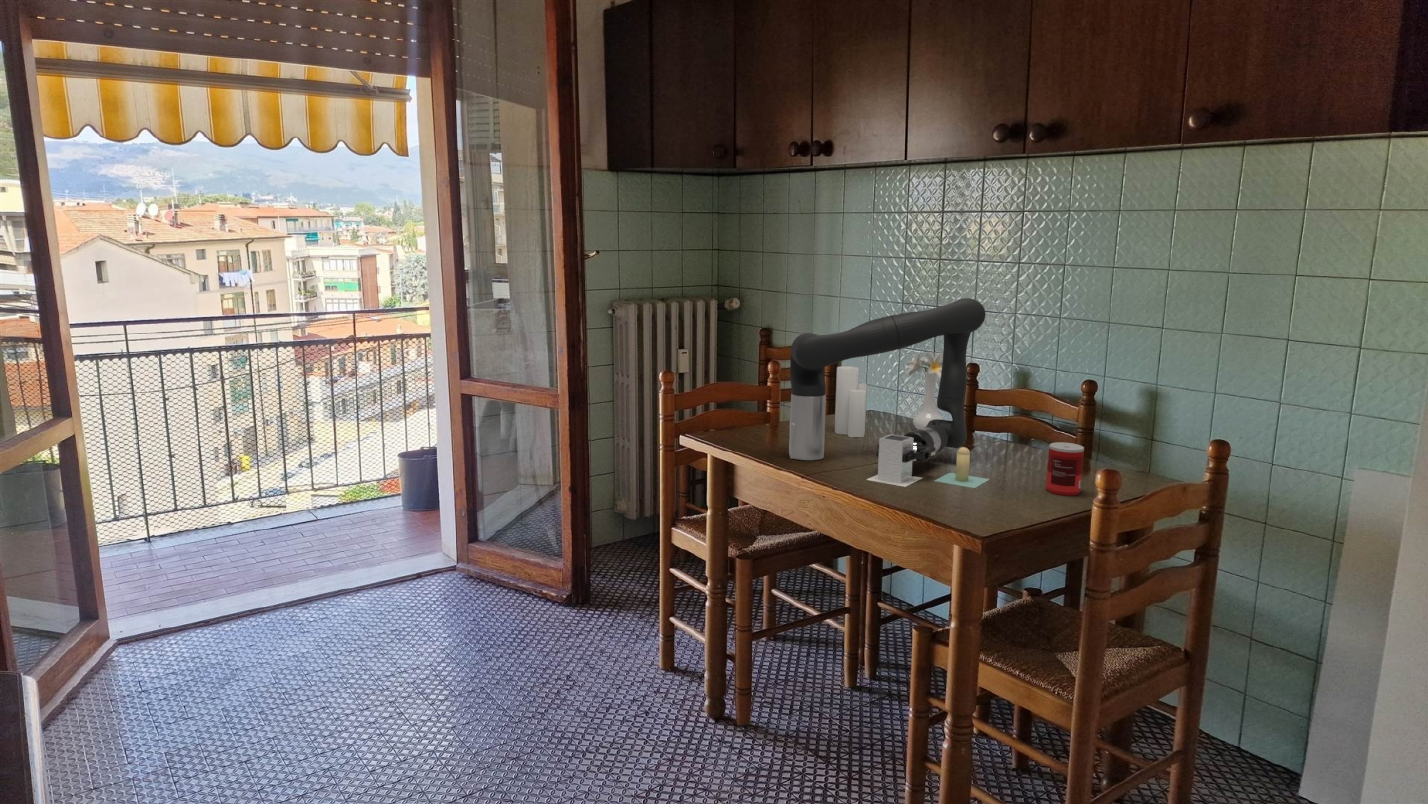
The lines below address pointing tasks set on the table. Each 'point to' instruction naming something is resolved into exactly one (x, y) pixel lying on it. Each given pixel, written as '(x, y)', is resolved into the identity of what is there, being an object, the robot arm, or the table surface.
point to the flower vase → (927, 386)
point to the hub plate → (967, 484)
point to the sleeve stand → (904, 484)
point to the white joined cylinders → (850, 403)
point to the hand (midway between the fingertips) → (891, 456)
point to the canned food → (1064, 468)
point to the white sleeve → (894, 458)
